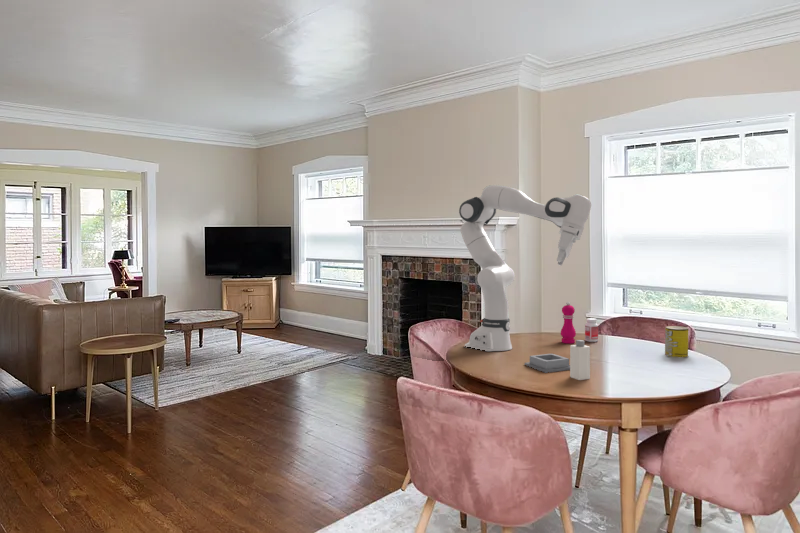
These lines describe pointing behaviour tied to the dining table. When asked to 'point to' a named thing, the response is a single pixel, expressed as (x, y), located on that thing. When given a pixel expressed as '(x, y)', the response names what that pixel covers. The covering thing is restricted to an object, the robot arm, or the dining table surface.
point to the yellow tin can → (676, 341)
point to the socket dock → (548, 363)
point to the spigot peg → (580, 361)
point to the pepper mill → (568, 324)
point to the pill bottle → (591, 330)
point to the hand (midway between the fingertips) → (559, 263)
